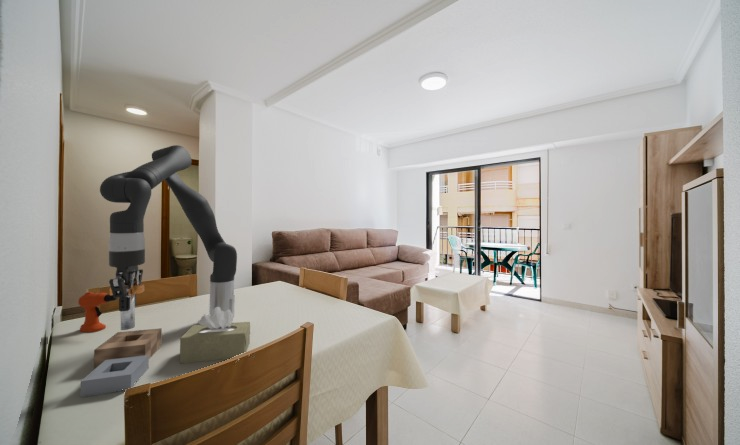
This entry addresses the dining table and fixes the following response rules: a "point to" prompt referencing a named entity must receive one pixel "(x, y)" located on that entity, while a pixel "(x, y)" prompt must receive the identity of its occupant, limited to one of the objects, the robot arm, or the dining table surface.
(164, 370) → the dining table surface
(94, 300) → the toy drill
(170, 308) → the dining table surface
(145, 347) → the block
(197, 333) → the tissue box
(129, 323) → the bar
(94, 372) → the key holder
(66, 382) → the dining table surface
